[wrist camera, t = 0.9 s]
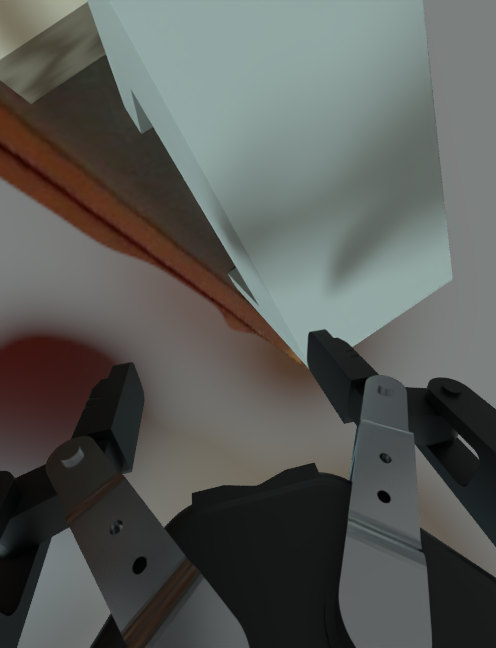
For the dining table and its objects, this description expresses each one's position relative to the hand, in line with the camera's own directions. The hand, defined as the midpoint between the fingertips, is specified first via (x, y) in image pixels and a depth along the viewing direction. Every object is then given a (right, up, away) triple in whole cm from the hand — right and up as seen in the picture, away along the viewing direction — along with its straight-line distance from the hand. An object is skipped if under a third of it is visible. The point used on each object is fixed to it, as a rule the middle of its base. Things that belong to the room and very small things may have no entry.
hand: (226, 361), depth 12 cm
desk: (-1, +18, +19) cm, 26 cm away
